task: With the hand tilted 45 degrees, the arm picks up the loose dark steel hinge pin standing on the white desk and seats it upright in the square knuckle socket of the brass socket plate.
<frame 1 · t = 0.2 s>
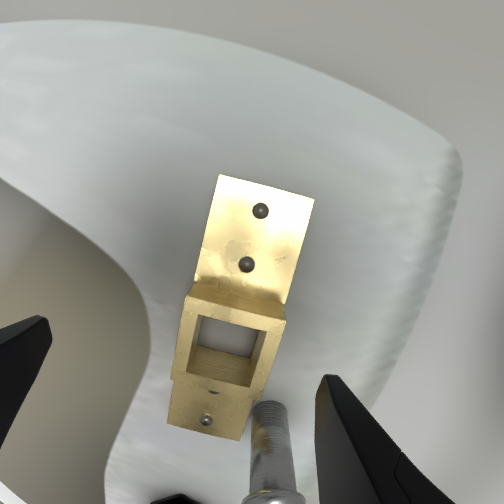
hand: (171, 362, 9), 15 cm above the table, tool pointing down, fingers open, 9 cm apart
brass socket plate: (230, 327, 25), on the table
hinge pin: (269, 413, 26), on the table
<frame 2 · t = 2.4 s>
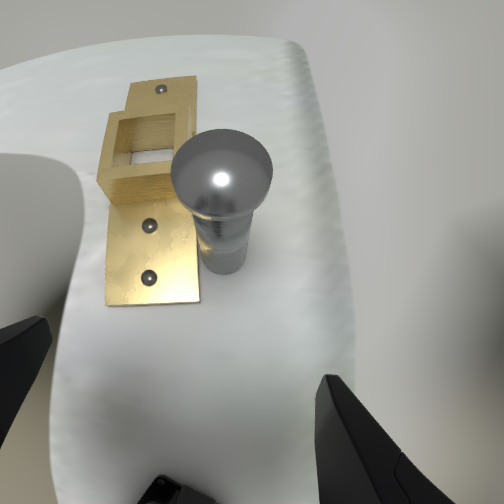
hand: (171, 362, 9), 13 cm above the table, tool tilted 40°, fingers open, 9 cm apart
brass socket plate: (154, 170, 25), on the table
hinge pin: (223, 253, 23), on the table
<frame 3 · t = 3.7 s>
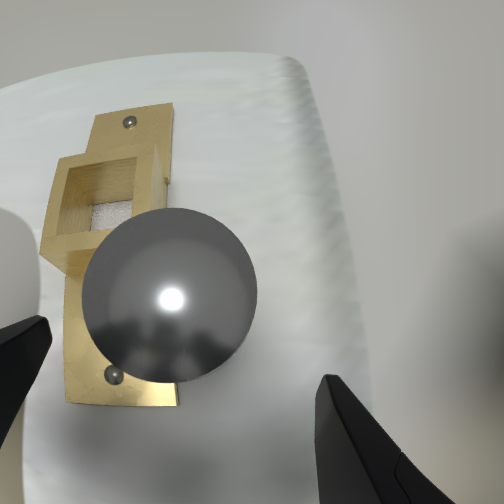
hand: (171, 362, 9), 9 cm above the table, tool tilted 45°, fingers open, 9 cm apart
brass socket plate: (119, 229, 20), on the table
hinge pin: (206, 342, 17), on the table
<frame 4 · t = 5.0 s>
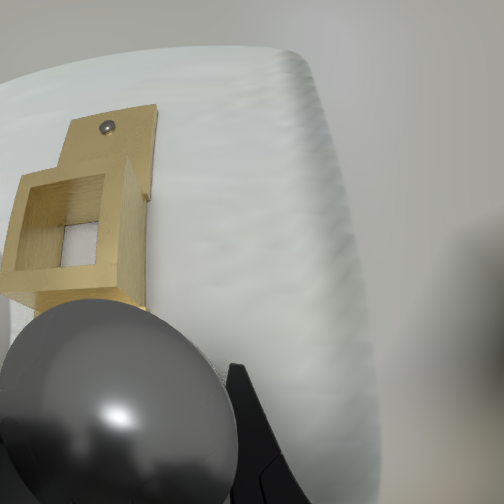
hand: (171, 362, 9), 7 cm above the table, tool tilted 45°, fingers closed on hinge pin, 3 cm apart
brass socket plate: (92, 256, 17), on the table
hinge pin: (192, 393, 14), on the table, touching gripper
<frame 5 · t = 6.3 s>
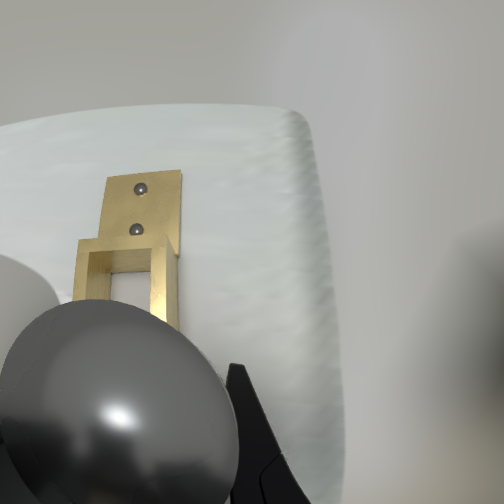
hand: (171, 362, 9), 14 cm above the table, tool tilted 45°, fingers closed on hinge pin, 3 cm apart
brass socket plate: (136, 299, 23), on the table
hinge pin: (193, 393, 14), point 7 cm above the table, touching gripper
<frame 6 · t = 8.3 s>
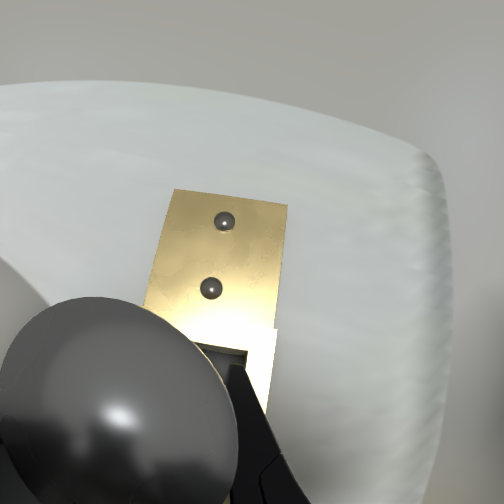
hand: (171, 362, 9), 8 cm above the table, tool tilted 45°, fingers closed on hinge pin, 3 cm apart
brass socket plate: (195, 390, 15), on the table
hinge pin: (193, 393, 14), point 1 cm above the table, touching gripper
when the fingers open (8 cm above the table, at t = 8.5 s): hinge pin drops 1 cm, resting in brass socket plate.
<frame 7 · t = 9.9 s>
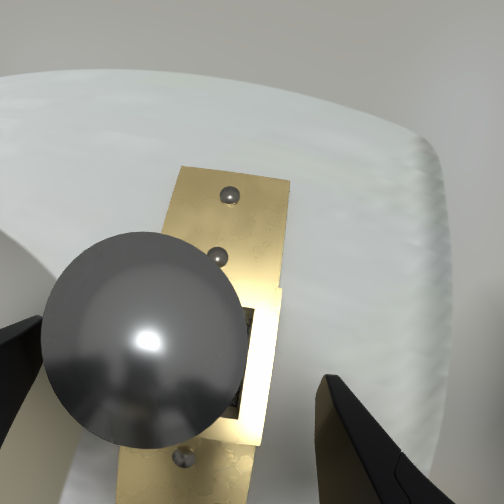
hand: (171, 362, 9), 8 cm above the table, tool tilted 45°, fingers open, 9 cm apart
brass socket plate: (200, 358, 16), on the table
hinge pin: (201, 360, 16), resting in brass socket plate
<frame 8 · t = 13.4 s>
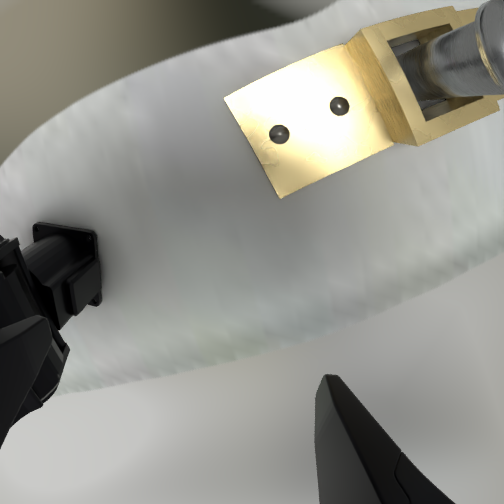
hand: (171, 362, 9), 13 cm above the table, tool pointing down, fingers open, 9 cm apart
brass socket plate: (407, 78, 16), on the table
hinge pin: (406, 79, 16), resting in brass socket plate
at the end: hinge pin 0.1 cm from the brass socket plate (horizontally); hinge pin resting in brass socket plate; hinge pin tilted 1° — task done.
